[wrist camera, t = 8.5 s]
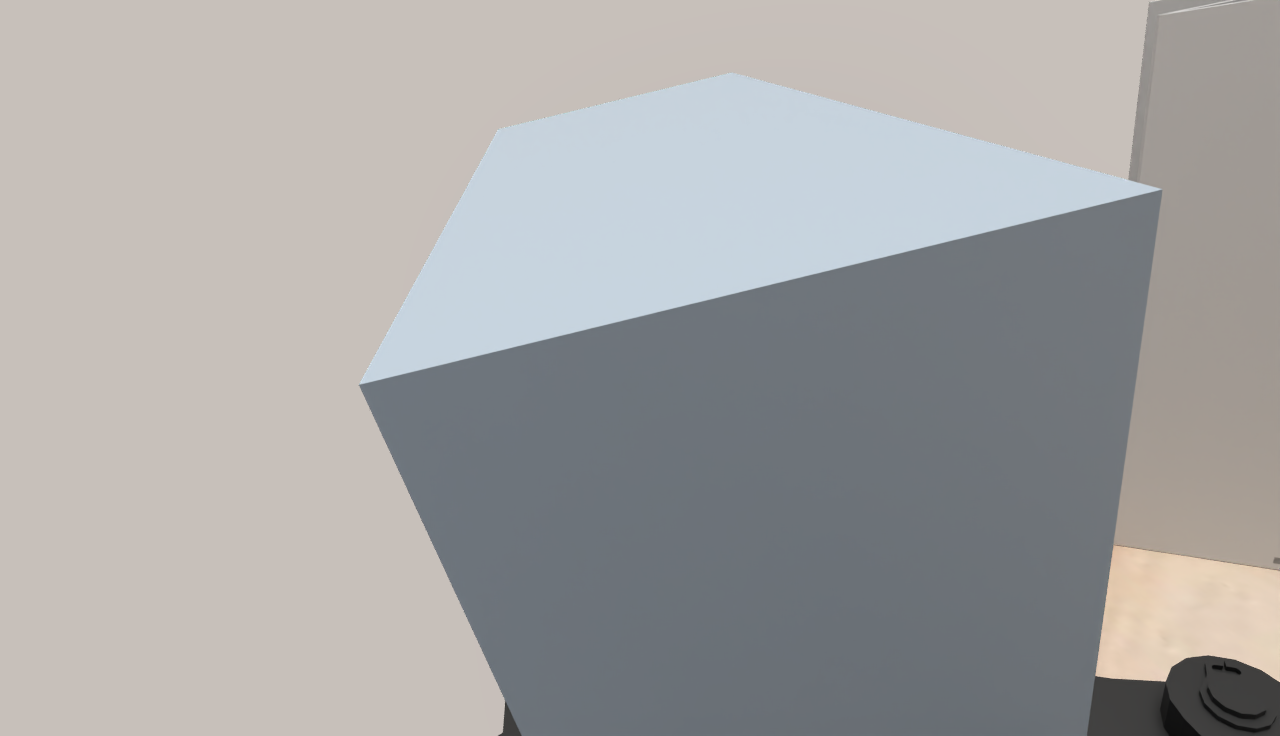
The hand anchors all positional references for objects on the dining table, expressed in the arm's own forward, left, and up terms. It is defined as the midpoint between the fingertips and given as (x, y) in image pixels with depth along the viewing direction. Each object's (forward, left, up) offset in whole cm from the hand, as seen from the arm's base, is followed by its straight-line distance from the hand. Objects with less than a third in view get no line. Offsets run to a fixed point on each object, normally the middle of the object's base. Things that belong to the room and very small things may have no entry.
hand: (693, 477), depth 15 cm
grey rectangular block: (0, +5, -12) cm, 13 cm away
